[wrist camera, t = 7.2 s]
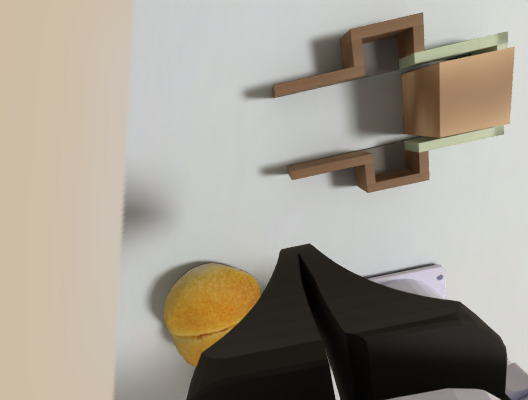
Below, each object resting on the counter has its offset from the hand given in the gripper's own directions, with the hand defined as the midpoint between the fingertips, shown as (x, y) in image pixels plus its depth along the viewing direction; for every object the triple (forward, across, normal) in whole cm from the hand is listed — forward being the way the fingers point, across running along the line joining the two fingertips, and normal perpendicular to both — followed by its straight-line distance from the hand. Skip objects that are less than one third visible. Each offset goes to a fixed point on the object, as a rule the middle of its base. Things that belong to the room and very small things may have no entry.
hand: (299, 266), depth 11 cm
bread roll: (+10, +7, +8) cm, 15 cm away
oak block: (+10, -12, -5) cm, 16 cm away
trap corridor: (+9, -8, -5) cm, 13 cm away
